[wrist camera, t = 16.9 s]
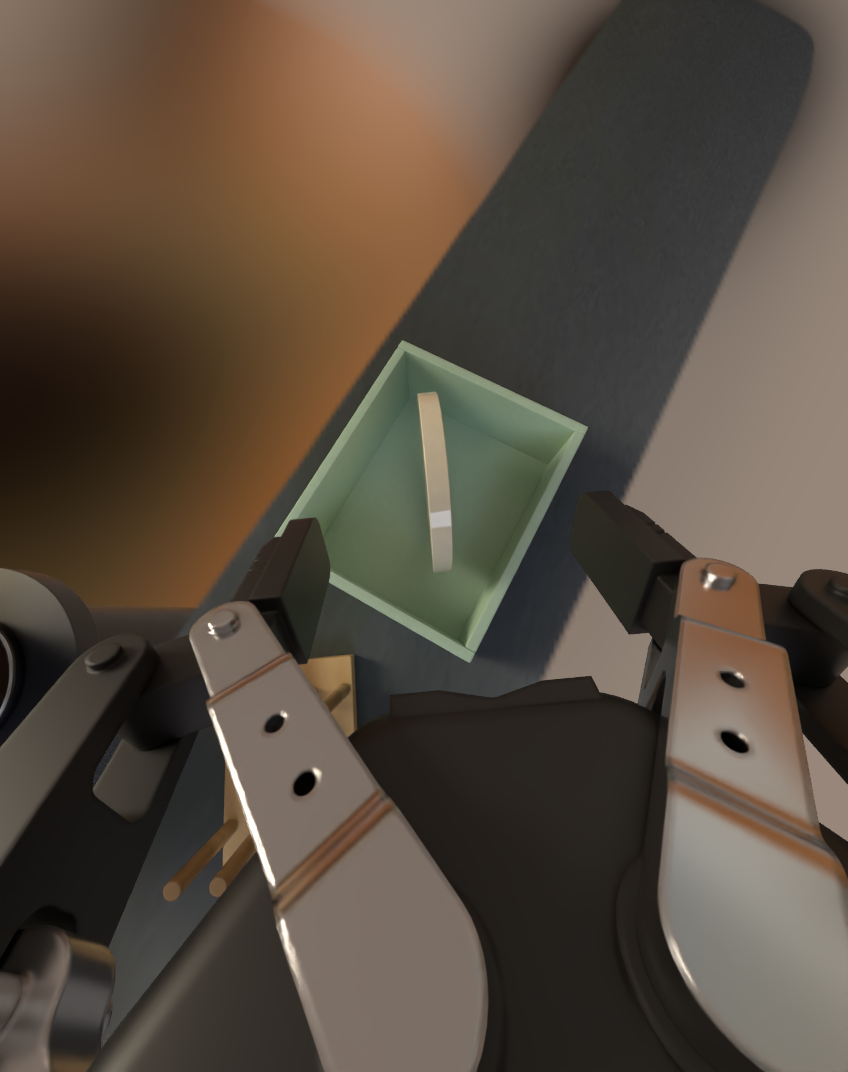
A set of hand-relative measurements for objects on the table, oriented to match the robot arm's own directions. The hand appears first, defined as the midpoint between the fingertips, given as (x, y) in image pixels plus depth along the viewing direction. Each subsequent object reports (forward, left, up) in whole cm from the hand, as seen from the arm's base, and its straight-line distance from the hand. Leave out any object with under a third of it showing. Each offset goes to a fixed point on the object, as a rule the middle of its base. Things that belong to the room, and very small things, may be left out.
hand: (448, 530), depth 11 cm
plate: (-1, +5, -8) cm, 10 cm away
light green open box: (-1, +5, -14) cm, 15 cm away
